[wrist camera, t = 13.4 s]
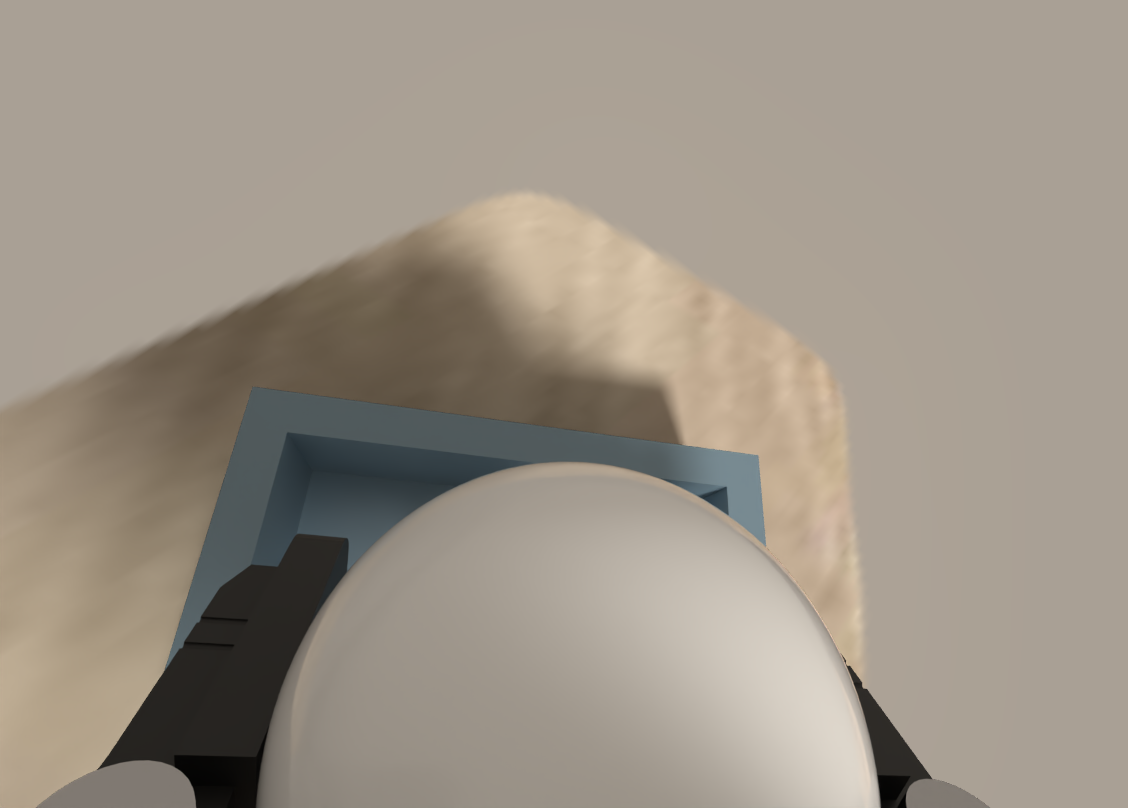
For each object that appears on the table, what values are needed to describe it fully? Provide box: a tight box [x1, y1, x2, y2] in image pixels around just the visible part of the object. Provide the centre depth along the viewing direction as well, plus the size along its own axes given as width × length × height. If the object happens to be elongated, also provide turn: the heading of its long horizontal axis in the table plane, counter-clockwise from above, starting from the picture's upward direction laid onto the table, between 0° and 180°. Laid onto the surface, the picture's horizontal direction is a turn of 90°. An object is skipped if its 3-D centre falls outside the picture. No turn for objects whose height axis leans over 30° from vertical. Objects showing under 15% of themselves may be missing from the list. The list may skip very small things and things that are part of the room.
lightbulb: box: [256, 461, 881, 808], centre depth 9 cm, size 6×6×11 cm
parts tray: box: [165, 387, 766, 670], centre depth 14 cm, size 13×12×4 cm
